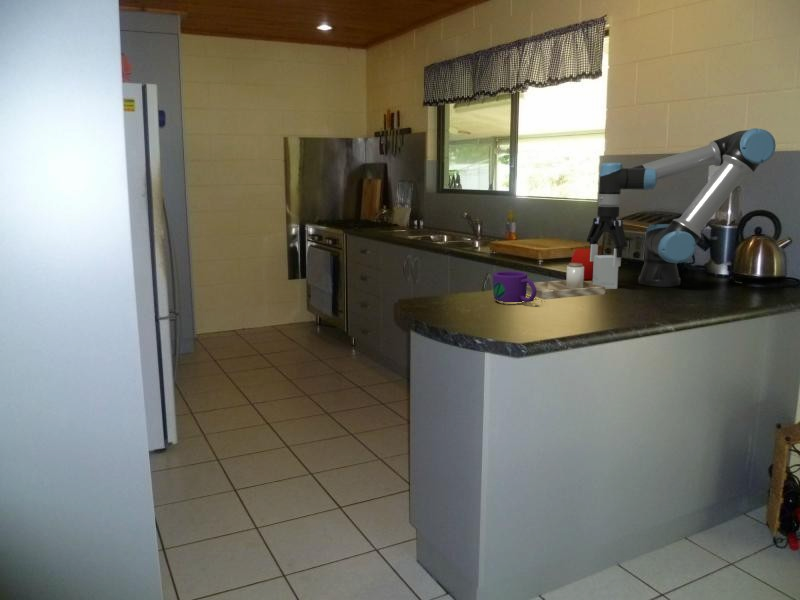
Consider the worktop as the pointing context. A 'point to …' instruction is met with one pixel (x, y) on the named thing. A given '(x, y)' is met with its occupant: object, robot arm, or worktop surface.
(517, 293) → the mug
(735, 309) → the worktop surface
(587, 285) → the rack
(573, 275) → the ceramic jar
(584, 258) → the tomato
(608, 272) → the supplement box
